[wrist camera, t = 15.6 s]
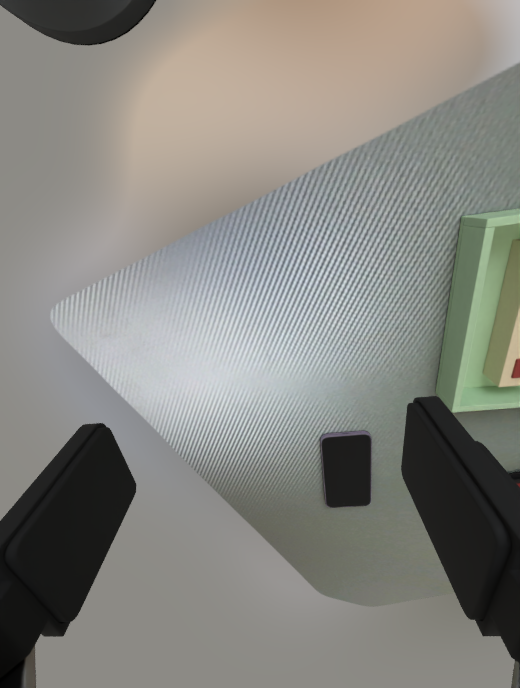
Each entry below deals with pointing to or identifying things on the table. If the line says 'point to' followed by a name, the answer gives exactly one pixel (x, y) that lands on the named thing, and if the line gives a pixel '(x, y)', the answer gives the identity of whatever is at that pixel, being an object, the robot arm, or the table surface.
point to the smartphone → (346, 468)
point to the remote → (506, 328)
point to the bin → (476, 313)
